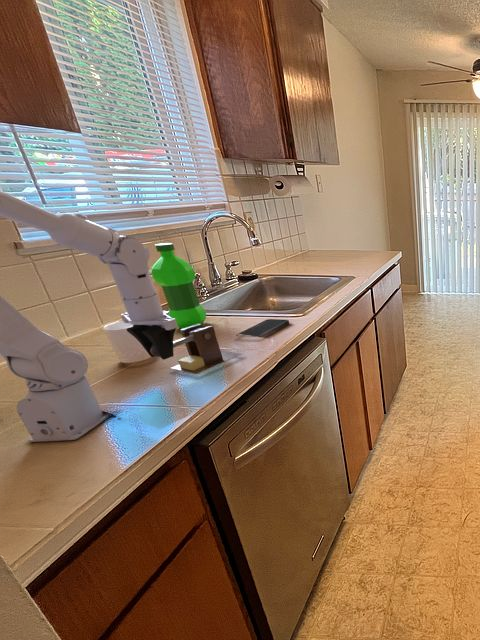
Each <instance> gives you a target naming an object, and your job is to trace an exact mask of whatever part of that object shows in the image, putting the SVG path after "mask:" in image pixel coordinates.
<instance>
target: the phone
mask: <svg viewBox="0 0 480 640" xmlns="http://www.w3.org/2000/svg"><path fill="white" fill-rule="evenodd" d="M289 325H290V320H288V319H277V318H276V319H275V318H268V319H265V320H263V321H261V322H258V323H257V324H255V325H253V326H251V327H248V328H247V329H245V330H243V331H241V332H238V333H237V334H235V336H236V337H240V335H242V336H248V337H249V338H251V337H253V338H263V339H266V338H267V337H269V336H271V335H272V334H274V333H276V332H278V331H280V330H282V329H283V328H285V327H287V326H289Z"/></svg>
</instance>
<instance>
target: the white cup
mask: <svg viewBox="0 0 480 640" xmlns="http://www.w3.org/2000/svg"><path fill="white" fill-rule="evenodd" d="M130 327H133V324H130V323H124V322H123V320H118V321H115V322H112V323H108V324H106V325H104V326H103V327H102V329H103V331H104V333H105V335H106V337H107V339H108V341H109V343H110V345H111V347H112V349H113V352H114V353H115V354H116V356H117V357H118V359H119V361H120V363H122V364H131V363H139V362H142V361H146V360H148V359H151V358H152V357H151V356H150V355H149V354H148V352H147V351H146V350H145V348H144V347H143V346H142V345H141V343H140V342H139V341H138V340H137V339H136V338H135V337H134V336H133V335H131V334H130V333H129V332H127V330H126V329H127V328H130Z"/></svg>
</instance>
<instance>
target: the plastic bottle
mask: <svg viewBox="0 0 480 640" xmlns="http://www.w3.org/2000/svg"><path fill="white" fill-rule="evenodd" d="M154 246H155V248H156V252H158V253H159V254H160V258H159V259H157V261H156V262H155V263H154V264H153V265H152V267H151V277H152V279H153V280H154V282H155V284H158V285H159V286H160V287H161V288H162V289H161V290H162V291H163V294H164V297H165V299H166V302H167V306H168V312H169V313H170V315H168V316H169V317H171V318H174V319H175V320H176V323H177V325H178V328H180V329H184V328H187V327H190V326H193V325H196V324H201V325H202V324H203V323H204V322H205V321H206V319H207V312H206V310H205V308H204V307H203V305H201V304H200V301H199V297H198V295H197V292H196V289H195V286H194V283H193V282H194V280H195V279H196V272H195V269H194V267H193V266H192V265H191V264H190V263H189V262H188V261H186V260H184V259H183V258H181V257H178V256H177V255H175V253H174V251H175V250H176V248H175V246H174V243H173V242H172V243H171V242H164V243H155V244H154Z"/></svg>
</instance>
